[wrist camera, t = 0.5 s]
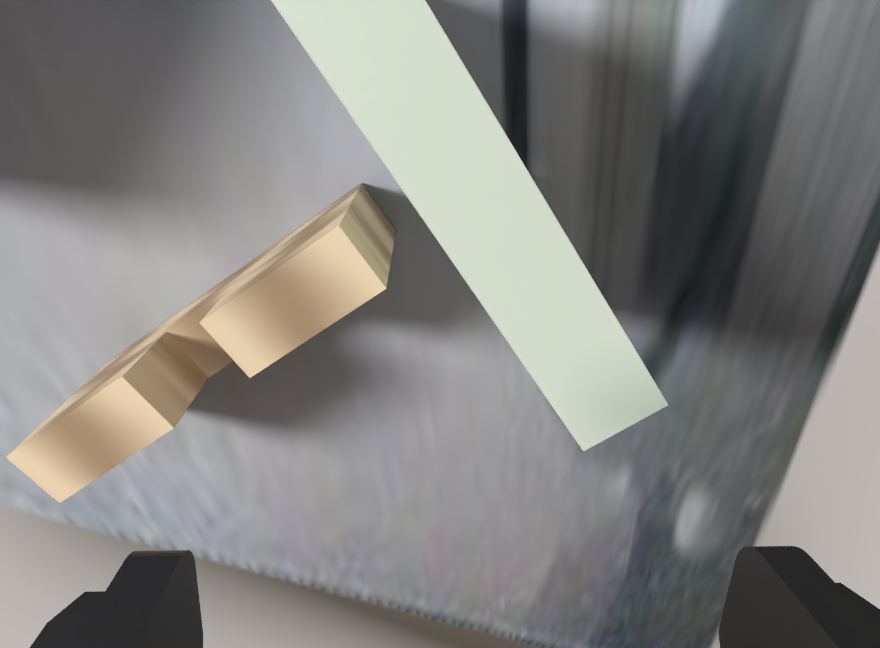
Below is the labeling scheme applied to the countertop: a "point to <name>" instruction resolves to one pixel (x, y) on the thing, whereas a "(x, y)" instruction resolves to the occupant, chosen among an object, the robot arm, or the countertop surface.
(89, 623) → the robot arm
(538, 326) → the sage board
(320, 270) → the oak u-shaped block
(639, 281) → the countertop surface
